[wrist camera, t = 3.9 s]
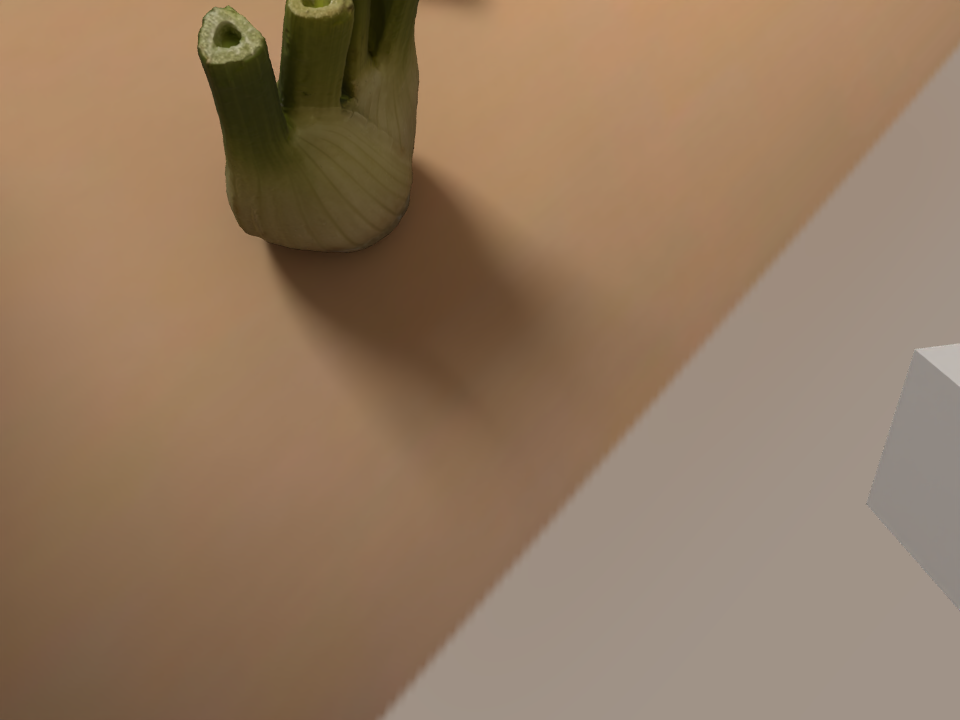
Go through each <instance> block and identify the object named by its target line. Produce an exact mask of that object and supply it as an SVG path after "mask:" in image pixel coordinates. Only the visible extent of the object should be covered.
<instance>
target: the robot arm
mask: <svg viewBox="0 0 960 720" xmlns="http://www.w3.org/2000/svg"><path fill="white" fill-rule="evenodd" d="M866 504H867V505H868V507H869V508H870V509H871V510H872V511H873V512H874V513H875V515H876V516H877V517H878V518H879V519H880V520H881V521H882V523H883V524H884V525H885V526H886V527H887V528H888V529H889V531H890V532H891V533H892V534H893V535H894V536H895V537H896V539H897V540H898V541H899V542H900V543H901V544H902V545H903V546H904V548H905V549H906V550H907V551H908V552H909V553H910V555H911V556H912V557H913V558H914V559H915V560H916V561H917V563H918V564H919V565H920V566H921V567H922V568H923V569H924V571H925V572H926V573H927V574H928V575H929V576H930V577H931V579H932V580H933V581H934V582H935V583H936V584H937V585H938V587H939V588H940V589H941V590H942V591H943V592H944V594H945V595H946V596H947V597H948V598H949V599H950V600H951V601H952V603H953V604H954V605H955V606H956V607H957V608H958V609H959V611H960V343H959V344H952V345H944V346H936V347H929V348H920V349H915V350H914V354H913V357H912V360H911V363H910V366H909V370H908V373H907V376H906V379H905V382H904V385H903V389H902V392H901V395H900V398H899V402H898V405H897V408H896V411H895V414H894V417H893V420H892V424H891V427H890V430H889V434H888V437H887V440H886V443H885V446H884V449H883V452H882V456H881V459H880V462H879V465H878V468H877V471H876V475H875V478H874V481H873V484H872V488H871V490H870V494H869V497H868V500H867V503H866Z"/></svg>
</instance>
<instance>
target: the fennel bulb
mask: <svg viewBox="0 0 960 720" xmlns="http://www.w3.org/2000/svg"><path fill="white" fill-rule="evenodd" d="M418 2H419V0H286V5H285V16H284V23H283V36H282V38H283V39H282V53H281V63H280V75H279V80H278V82H277V83H276V80H275V76H274V71H273V69H272V64H271V60H270V59H269V54H268V47H267V44H266V41H265V38H264V37H263V36H262V35H261V33H260V32H259V31H258V30H256V29H255V28H254V27H253V26H252V25H251V24H250V23H249V21H247V19H246V18H245V17H244V16H243V15H240V14H239V13H237V12H236V11H235V10H234V9H233V8H231V7H230V6H229V5H228V6H226V7H225V8H217V7H214V8H212V10H211V11H209V12H208V13H207V14H206V15H205V16H204V17H203V21H202V27H201V29H200V31H199V33H198V46H197V49H198V55H199V57H200V60H201V63H202V66H203V68H204V71H205V74H206V76H207V79H208V82H209V85H210V88H211V91H212V94H213V98H214V102H215V106H216V110H217V113H218V116H219V119H220V124H221V129H222V133H223V143H224V150H225V155H226V167H225V168H226V170H225V176H226V193H227V197H228V201H229V204H230V207H231V209H232V211H233V213H234V215H235V218H236V220H237V222H238V224H239V226H240V227H241V228H242V229H243V230H244V231H245V232H246V233H247V234H249V235H252V236H257V237H260V238H263V239H264V240H265V241H267V242H269V243H272V244H273V243H275V244H278V245H281V246H286V247H289V248H293V249H300V250H305V249H306V250H313V251H320V252H330V251H331V252H354V251H358V250H362V249H364V248H367V247H369V246H371V245H373V244H375V243H376V242H378V241H379V240H381V239H382V238H384V237H385V236H387V235H388V234H389V233H390V232H391V231H392V230H393V229H394V228H395V227H396V226H397V225H398V223H399V222H400V220H401V218H402V217H403V215H404V214H405V212H406V210H407V208H408V206H409V202H410V188H411V184H412V179H413V177H412V175H413V173H412V155H413V149H414V139H415V133H416V110H417V103H418V86H419V70H418V64H417V55H416V48H415V41H414V25H415V18H416V14H417V6H418Z"/></svg>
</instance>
